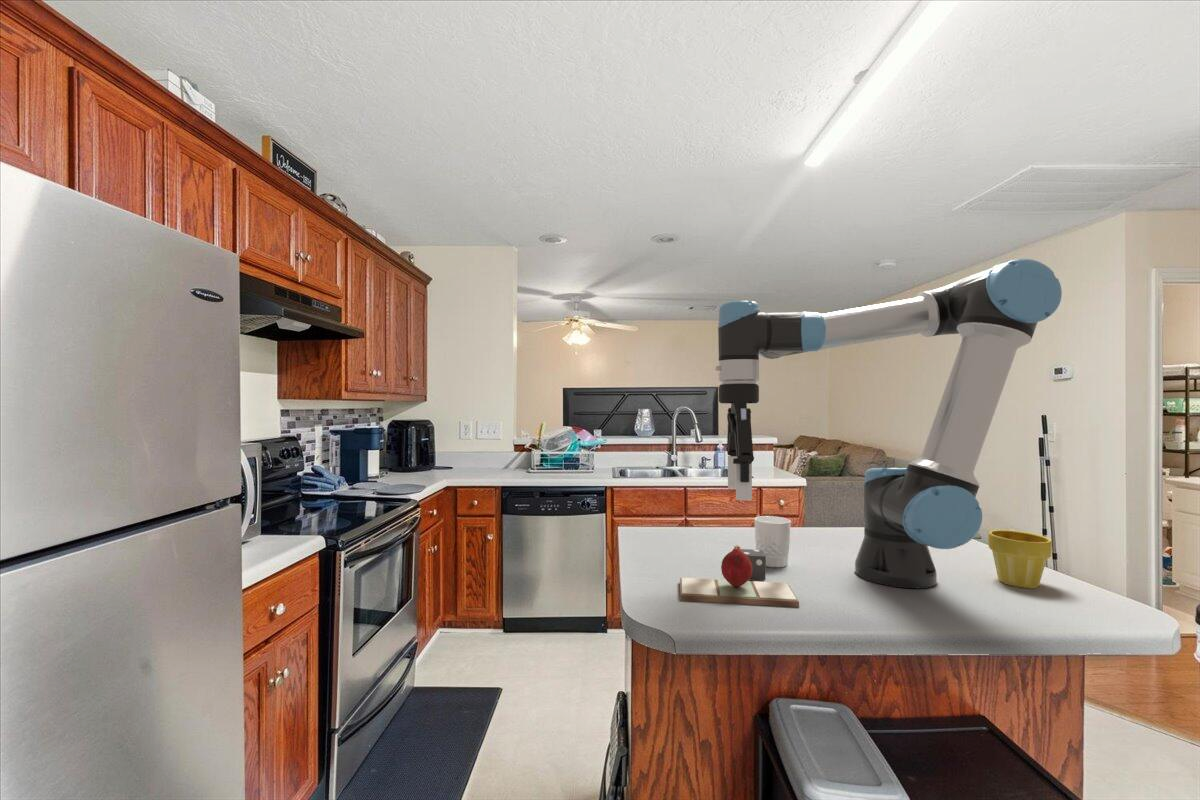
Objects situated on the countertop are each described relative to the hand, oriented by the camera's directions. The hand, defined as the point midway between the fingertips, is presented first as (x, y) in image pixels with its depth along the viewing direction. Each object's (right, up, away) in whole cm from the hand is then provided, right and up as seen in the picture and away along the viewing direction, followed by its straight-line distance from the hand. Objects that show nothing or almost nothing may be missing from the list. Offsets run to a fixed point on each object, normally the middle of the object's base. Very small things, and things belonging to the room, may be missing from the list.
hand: (739, 493), depth 104 cm
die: (+5, -19, +11) cm, 23 cm away
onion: (-1, -18, 0) cm, 18 cm away
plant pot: (+59, -20, +7) cm, 63 cm away
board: (-1, -19, 0) cm, 19 cm away
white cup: (+13, -20, +20) cm, 31 cm away
